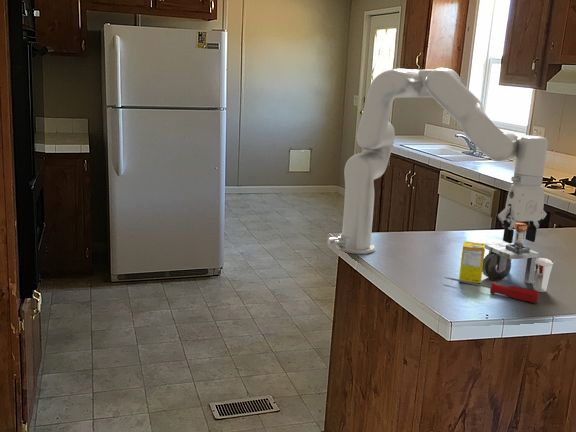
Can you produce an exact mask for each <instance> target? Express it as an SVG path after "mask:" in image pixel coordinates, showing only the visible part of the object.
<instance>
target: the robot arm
mask: <svg viewBox="0 0 576 432" xmlns="http://www.w3.org/2000/svg"><path fill="white" fill-rule="evenodd" d="M398 98H399V99H402V98H404V99H405V98H408V99H409V98H410V99H411V98H433V100H435V101H436V103H437V104H438V105H439V106H441V108H442V109H444V111H445V112H446V113H447V114H448V115H450V117H451V118H452V119H453V120H454V121H455V122H456V123H457V124H458V126H459V128H460V129H461V130H462V131H463V132H464V133H465V135H466V136H467V138H468V139H469V140H470V141H471V142H472V143H473V144H474V145H475V146H476V147H477V148H478V149H479V150H480V151H481V153H483V154H484V155H485V156H486V157H487V158H488V159H490V160H492V161H494V162H504V161H507V160H509V159H515V165H514V171H513V172H514V173H513V176H511V182H512V184H511V185H510V186H509V187H510V188H509V191H508V193H507V196H506V197H507V198H506V200H505V201H506V202H505V208H503V209H502V210H501V211H500V213H498V215H497V218H498V220H499V221H500V223H501V225H502V228H503V229H504V230H503V237H502V242H507V243H513V242H514V233H515V229H514V225H515V223H526V222H527V224H528V229H527V230H526V231H525V236H524V239H525V240H526V241H529V242H531V243H535V241H536V236H537V229H539V227H540V224H542V222H543V220H544V219H545V218H546V216H547V212H546V211H545V210H544V208H545V207H544V204H545V189H544V186H543V178H544V177H543V176H544V171H545V164H546V159H547V158H546V157H547V152H548V145H549V143H548V139H547V138H546V137H544V136H539V135H522V134H517V133H513V132H509V131H508V132H507V131H506V132H505V131H504V132H503V131H502V130H501V129H500V128H499V127H498V126H497V125H495V123H494V122H493V121H492V120H491V119H490V118H489V117H488V115H487V113H486V112H485V110H484V108H483V104H482V102H481V101H480V99H479V98H478V97H477V96H475V95H474V94H473V93H472V92H471V90H469V89H468V87H467V86H465V85H464V83H462V81H461V76H459V74H458V73H457V72H456V71H455V70H454V69H450V68H447V67H437V68H435V69H407V68H393V69H389V70H385V71H383V72H381V73H379V74H378V75H376V77H375V78H374V79H373V80H372V81H371V83H370V85H369V87H368V90H367V95H366V98H365V101H364V106H363V111H362V113H361V116H360V121H359V125H358V128H357V131H356V142H357V145H358V146H359V147H360V148H361V149H362V152H359V153H355V154H353V155H352V156H351V157H349V158H348V159H347V161H346V163H345V166H344V170H343V172H344V174H343V176H344V186H345V187H344V199H343V200H344V203H343V204H344V205H343V215H342V217H343V218H342V231H341V233H339V235H338V236H336V237H328V238H327V242H328V244H330V245H331V244H334V245H336V249H338V251H341V252H344V253H347V254H355V255H367V254H371V253H374V252H375V249H376V247H375V245H374V244H373V243H371V242H372V230H373V219H374V206H375V185H374V181H375V180H377V179H379V178H381V177H382V176H383V175H384V174H385V172H386V169H387V167H388V164H389V161H390V156H391V153H392V150H393V147H394V143H395V142H394V141H395V137H396V132H395V127H394V126H393V124H392V122H390V118H391V114H392V111H393V101H394V100H395V99H398Z"/></svg>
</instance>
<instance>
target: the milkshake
mask: <svg viewBox="0 0 576 432" xmlns="http://www.w3.org/2000/svg"><path fill="white" fill-rule="evenodd" d="M555 262H556V260H554V261H553V262H552V260H550V259H548V258H546V257H545V258H543V257H537V258H536V261H535V269H534V276H533V286H532V288H533V289H532V290H537V291H538V292H540V293H545V292H547V289H548V285H549V284H548V283H549V281H550V275H551V273H552V269H553V265H554V263H555Z"/></svg>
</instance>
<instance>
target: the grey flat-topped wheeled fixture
mask: <svg viewBox="0 0 576 432" xmlns="http://www.w3.org/2000/svg"><path fill="white" fill-rule="evenodd" d="M481 243H482V244H485V250H488V253H487V254H486V255H485V256H484V260H483V268H482V275H484V276H485V277H487V278H489V279H491V280H492V281H495V282H499V281H500V282H501V281H502V280H505V278H507V276H508V275H509V274H510V272H511V269H512V260H516V259H517V260H519V259H527V260H526V264H525V265H526V267H525V273H524V278H523V279H524V280H523V283H526V284H527V285H529V284H533V283H534V273H535V261H536V260H537V258H539V252H537V251H535V250H532V249H531V248H530V247H528V246H526V245H524V244H523V247H522V248H518V249H517V248H515V247H513V246H514V242H512V243H507V242H505V241H497V242H481Z"/></svg>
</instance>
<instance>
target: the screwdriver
mask: <svg viewBox="0 0 576 432" xmlns="http://www.w3.org/2000/svg"><path fill="white" fill-rule="evenodd" d="M443 278H444V279H446V280H447V279H448V280H451V281H456V282H458V283H459V282H464V283H463V284H465V283H468V284H467V285H475V286H477V287H483V288H487V289H490V291H489V293H490V294H491V295H492V294H499V295H504V296H507V297H509V298H511V299H515V300H517V301H523V302H527V303H532V304H537V303H538V302H539V298H540V293H539V292H538V291H537V290H534V289H529V288H525V287H520V286H515V285H511V286H510V285H508V286H507V285H501V284H498V283H496V281H495V282H494V281H492V282H491V285H487V284H486V285H485V284H482V283H481V284H477V283H473V282H468V281H463V280H459V279H457V278H452V277H447V276H444V277H443Z"/></svg>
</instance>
